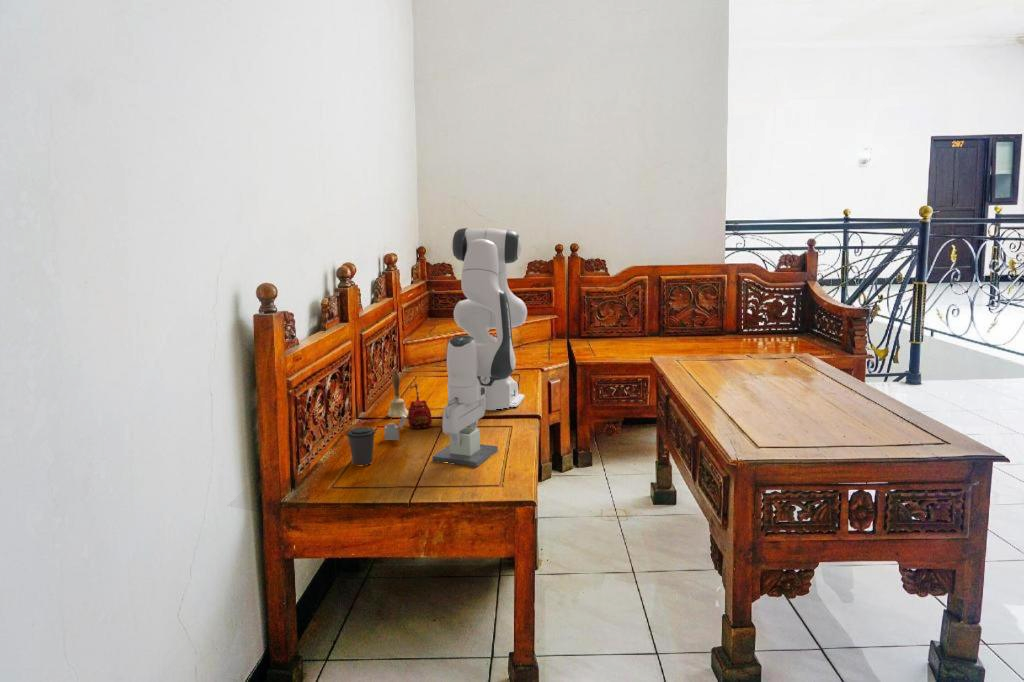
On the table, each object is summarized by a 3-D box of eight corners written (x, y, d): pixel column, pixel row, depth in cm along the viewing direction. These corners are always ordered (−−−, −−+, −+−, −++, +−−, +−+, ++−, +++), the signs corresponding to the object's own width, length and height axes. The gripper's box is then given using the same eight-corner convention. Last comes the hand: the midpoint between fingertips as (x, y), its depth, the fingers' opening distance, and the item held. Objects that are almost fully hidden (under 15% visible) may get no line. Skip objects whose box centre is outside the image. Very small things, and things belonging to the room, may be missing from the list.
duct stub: (455, 445, 217) (454, 425, 216) (497, 451, 212) (497, 429, 211) (432, 461, 205) (431, 439, 203) (476, 467, 199) (476, 444, 198)
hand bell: (383, 418, 247) (380, 373, 244) (390, 411, 255) (387, 367, 252) (406, 419, 246) (404, 373, 243) (413, 412, 254) (410, 367, 251)
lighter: (385, 441, 223) (383, 416, 222) (385, 439, 225) (384, 414, 223) (408, 440, 224) (406, 415, 222) (408, 438, 225) (407, 413, 224)
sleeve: (460, 446, 212) (459, 426, 211) (480, 448, 210) (479, 428, 208) (450, 453, 206) (449, 433, 205) (470, 455, 204) (469, 435, 203)
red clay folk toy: (410, 431, 232) (408, 386, 230) (406, 425, 239) (404, 381, 236) (433, 428, 235) (431, 383, 232) (429, 422, 241) (427, 378, 239)
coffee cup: (352, 458, 209) (350, 424, 207) (380, 457, 208) (378, 424, 207) (345, 468, 201) (342, 433, 199) (373, 467, 200) (371, 433, 199)
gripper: (456, 404, 194) (458, 453, 197) (488, 386, 213) (489, 431, 215) (435, 402, 197) (437, 450, 199) (469, 384, 215) (470, 429, 218)
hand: (465, 440), depth 207 cm, fingers open, 8 cm apart
